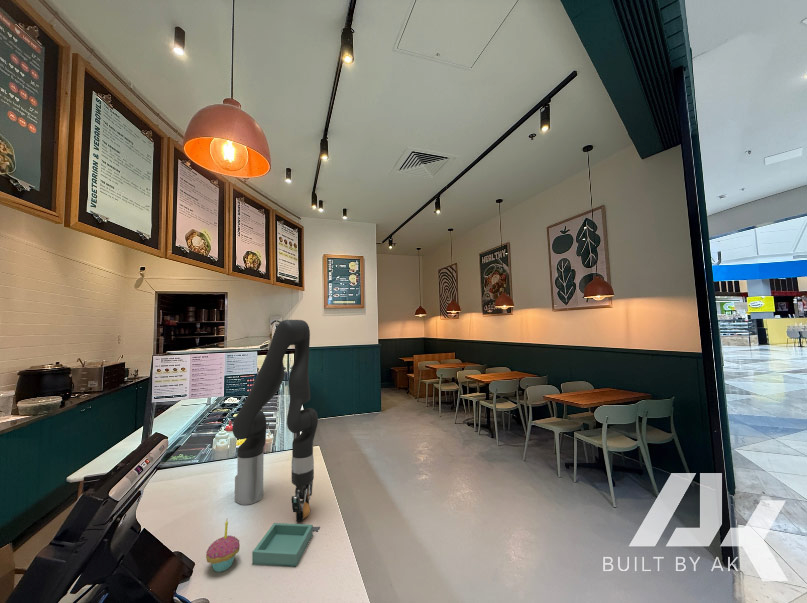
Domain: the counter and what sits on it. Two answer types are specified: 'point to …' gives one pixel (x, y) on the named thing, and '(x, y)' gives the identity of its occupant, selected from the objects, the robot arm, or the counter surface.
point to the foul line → (316, 529)
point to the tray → (282, 545)
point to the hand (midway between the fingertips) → (302, 516)
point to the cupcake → (223, 551)
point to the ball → (305, 510)
